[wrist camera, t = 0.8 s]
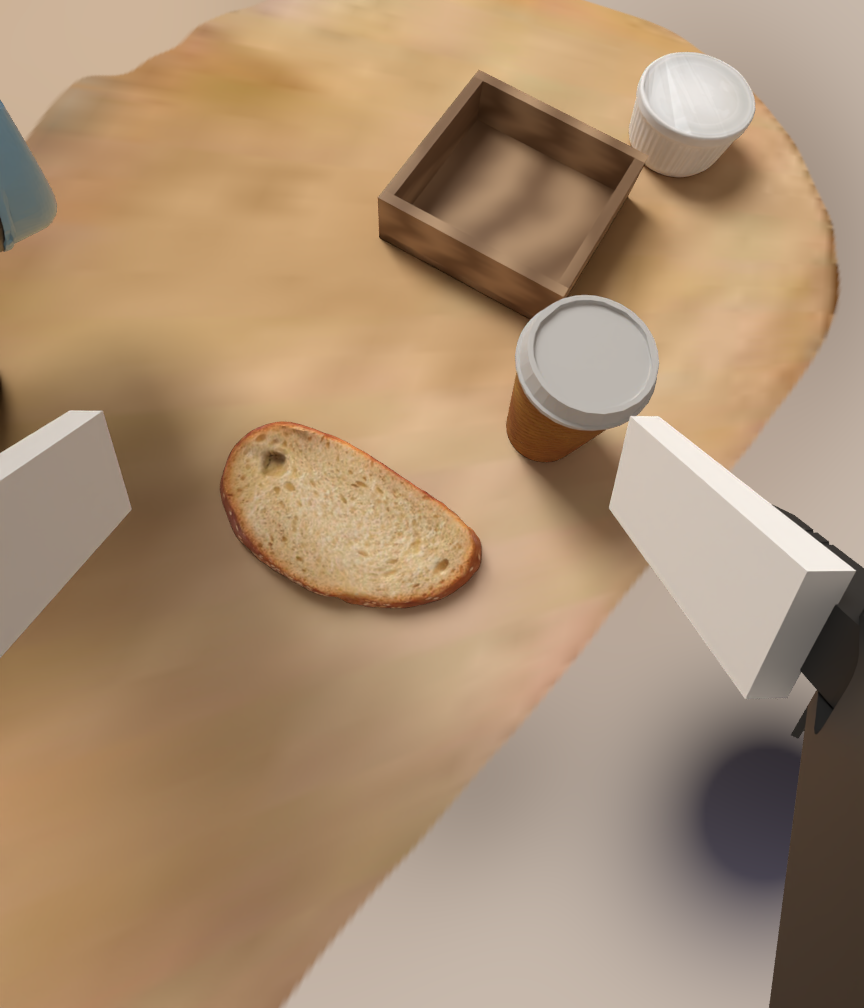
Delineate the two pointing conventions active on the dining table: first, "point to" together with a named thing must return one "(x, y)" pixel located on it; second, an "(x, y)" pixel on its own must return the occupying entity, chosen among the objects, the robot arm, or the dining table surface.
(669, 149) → the ramekin
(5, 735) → the dining table surface
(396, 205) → the open wooden box
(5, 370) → the dining table surface
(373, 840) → the dining table surface
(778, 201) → the dining table surface
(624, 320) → the disposable coffee cup
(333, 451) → the bread slice
